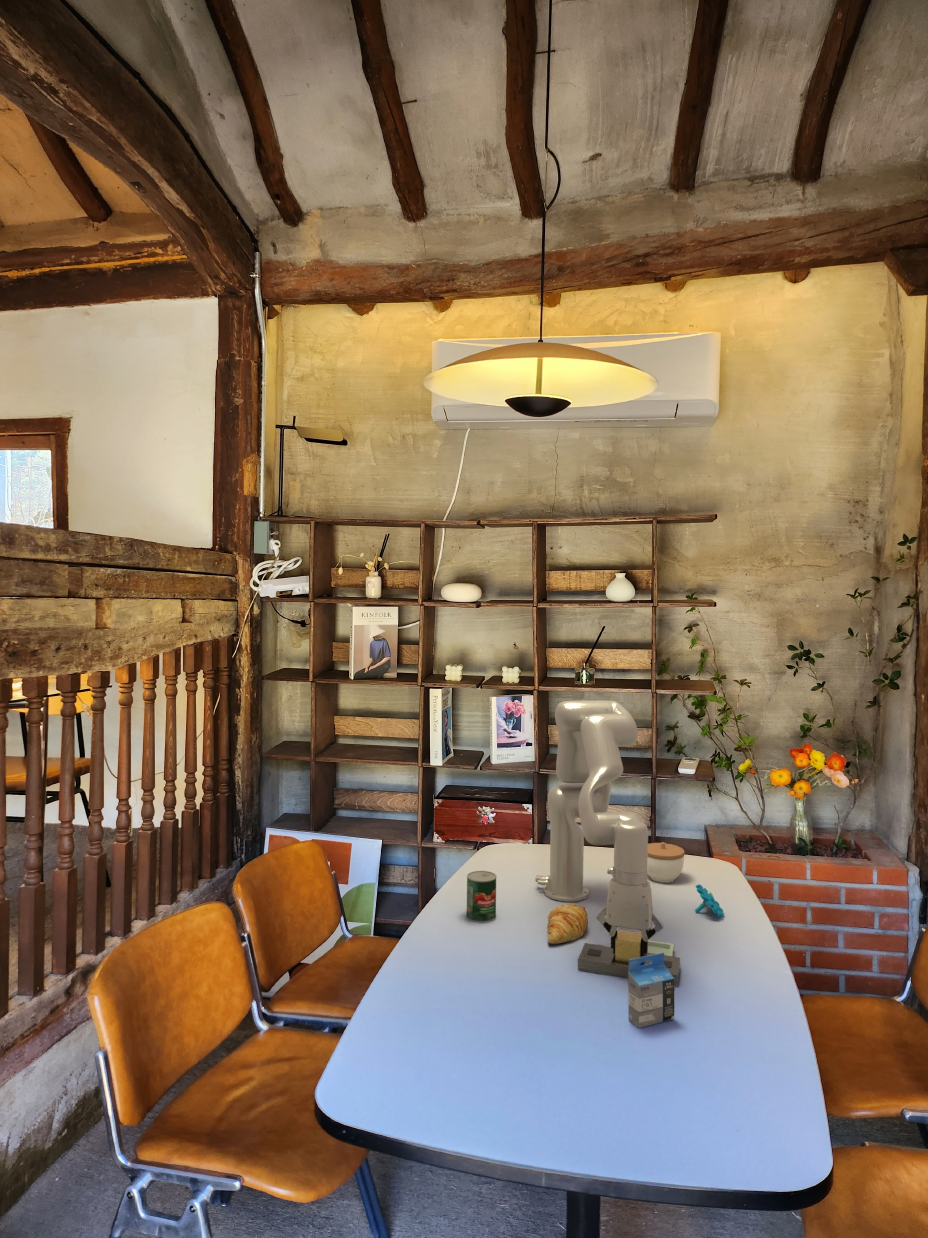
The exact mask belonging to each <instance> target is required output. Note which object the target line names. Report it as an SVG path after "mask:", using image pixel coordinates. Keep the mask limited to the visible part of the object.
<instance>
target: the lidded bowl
mask: <svg viewBox="0 0 928 1238" xmlns="http://www.w3.org/2000/svg"><path fill="white" fill-rule="evenodd" d="M684 861H685V850H684V849H683V848H682V847H681V846H678V845H676V844H671V843H666V842H664V841H663V842H652V843H648V861H647V876H648V877H650V879H651V881H654V882H657V883H662V884H664V883H665V884H668V883H669V884H670V883H673V882H675V879H677V878H678V877H679V876H680V875H681V873H682V872H683V867H684Z"/></svg>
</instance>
